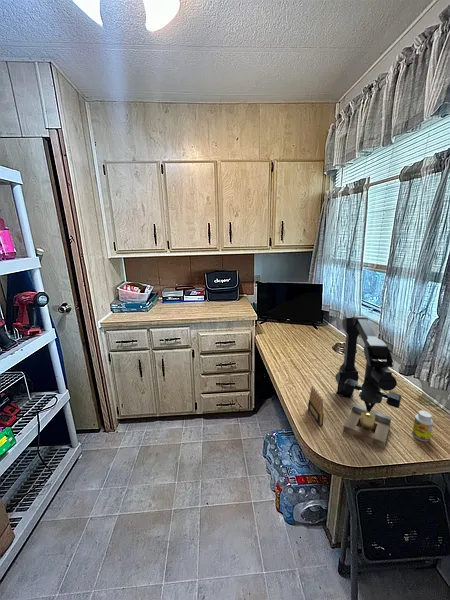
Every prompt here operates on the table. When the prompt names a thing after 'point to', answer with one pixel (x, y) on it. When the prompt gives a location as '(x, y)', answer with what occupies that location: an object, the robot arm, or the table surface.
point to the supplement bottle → (422, 426)
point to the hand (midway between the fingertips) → (368, 411)
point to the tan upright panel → (316, 406)
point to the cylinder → (367, 420)
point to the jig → (375, 438)
